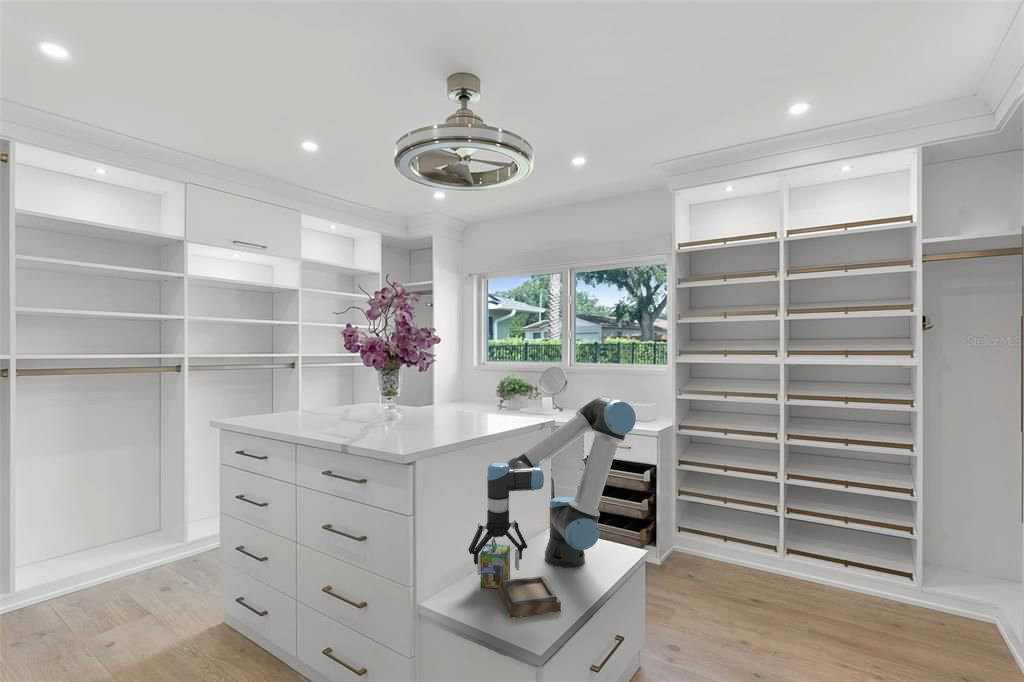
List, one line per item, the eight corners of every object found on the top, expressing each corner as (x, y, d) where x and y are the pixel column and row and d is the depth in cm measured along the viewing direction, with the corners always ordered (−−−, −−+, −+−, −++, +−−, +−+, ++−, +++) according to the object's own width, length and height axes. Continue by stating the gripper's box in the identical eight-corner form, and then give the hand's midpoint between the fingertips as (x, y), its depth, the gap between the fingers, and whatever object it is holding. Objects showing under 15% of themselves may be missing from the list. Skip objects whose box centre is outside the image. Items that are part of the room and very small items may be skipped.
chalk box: (506, 590, 167) (506, 545, 167) (479, 587, 169) (479, 543, 169) (511, 577, 177) (511, 535, 177) (485, 575, 178) (485, 533, 178)
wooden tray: (544, 586, 170) (545, 574, 170) (560, 611, 154) (560, 597, 154) (498, 592, 166) (498, 579, 166) (510, 618, 150) (510, 604, 150)
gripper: (530, 503, 179) (529, 562, 179) (460, 508, 173) (460, 569, 173) (536, 509, 171) (535, 571, 171) (463, 515, 165) (463, 579, 165)
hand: (497, 571), depth 172 cm, fingers open, 13 cm apart
